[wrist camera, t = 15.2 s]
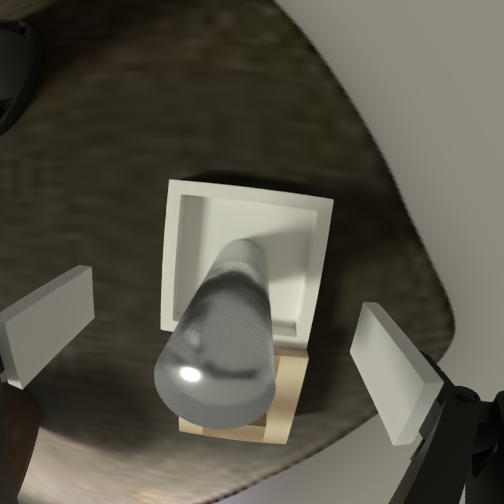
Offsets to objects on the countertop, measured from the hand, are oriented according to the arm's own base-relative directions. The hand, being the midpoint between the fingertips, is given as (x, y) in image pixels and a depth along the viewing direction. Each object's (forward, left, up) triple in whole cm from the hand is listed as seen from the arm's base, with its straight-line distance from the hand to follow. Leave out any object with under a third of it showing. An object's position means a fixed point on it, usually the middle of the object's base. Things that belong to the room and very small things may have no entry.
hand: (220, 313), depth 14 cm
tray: (0, 0, -12) cm, 12 cm away
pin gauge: (0, 0, -11) cm, 11 cm away
